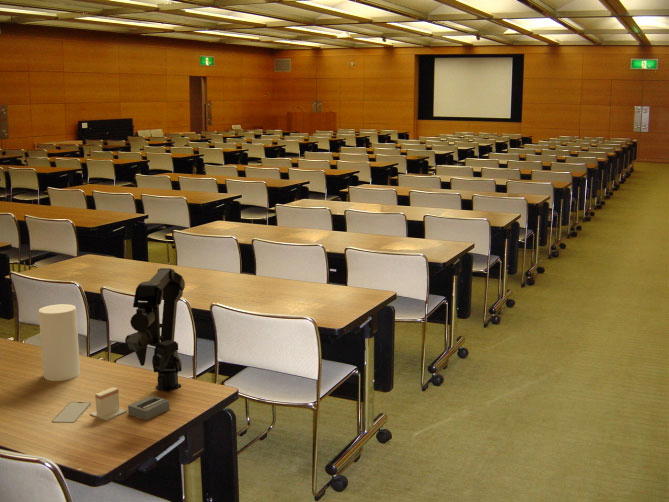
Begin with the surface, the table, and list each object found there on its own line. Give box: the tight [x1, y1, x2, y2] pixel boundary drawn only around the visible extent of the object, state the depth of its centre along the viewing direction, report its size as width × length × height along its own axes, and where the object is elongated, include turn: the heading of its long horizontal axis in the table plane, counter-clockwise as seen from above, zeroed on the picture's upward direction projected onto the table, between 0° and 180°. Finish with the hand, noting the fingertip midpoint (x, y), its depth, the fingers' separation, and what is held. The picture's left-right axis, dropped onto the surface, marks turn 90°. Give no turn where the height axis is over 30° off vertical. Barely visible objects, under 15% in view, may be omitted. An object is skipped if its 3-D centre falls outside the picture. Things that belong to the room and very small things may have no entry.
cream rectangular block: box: [94, 386, 120, 417], centre depth 223 cm, size 7×2×7 cm, turn 147°
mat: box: [89, 407, 128, 422], centre depth 223 cm, size 8×8×1 cm
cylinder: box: [38, 303, 81, 382], centre depth 254 cm, size 12×12×25 cm
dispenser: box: [127, 394, 171, 421], centre depth 224 cm, size 10×8×3 cm
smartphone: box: [51, 401, 92, 424], centre depth 224 cm, size 7×1×15 cm
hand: (152, 368), depth 227 cm, fingers open, 9 cm apart
